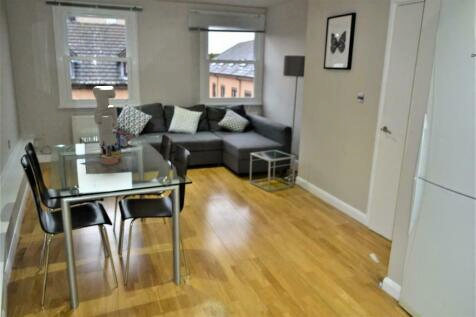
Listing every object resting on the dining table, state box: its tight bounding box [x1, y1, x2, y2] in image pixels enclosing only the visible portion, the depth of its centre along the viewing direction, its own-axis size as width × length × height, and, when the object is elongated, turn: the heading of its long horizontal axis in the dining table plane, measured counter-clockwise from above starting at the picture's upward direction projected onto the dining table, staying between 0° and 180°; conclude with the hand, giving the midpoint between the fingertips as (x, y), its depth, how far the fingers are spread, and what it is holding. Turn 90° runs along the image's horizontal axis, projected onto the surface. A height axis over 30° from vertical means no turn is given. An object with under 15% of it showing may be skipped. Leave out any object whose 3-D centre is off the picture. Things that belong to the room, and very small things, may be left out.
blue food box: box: [106, 131, 122, 159], centre depth 315 cm, size 7×11×22 cm, turn 121°
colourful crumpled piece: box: [117, 129, 135, 148], centre depth 367 cm, size 20×22×18 cm
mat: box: [80, 159, 102, 167], centre depth 299 cm, size 13×13×1 cm
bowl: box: [100, 157, 119, 165], centre depth 300 cm, size 12×12×5 cm
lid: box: [99, 149, 119, 160], centre depth 299 cm, size 14×14×6 cm
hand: (109, 152), depth 299 cm, fingers open, 9 cm apart
